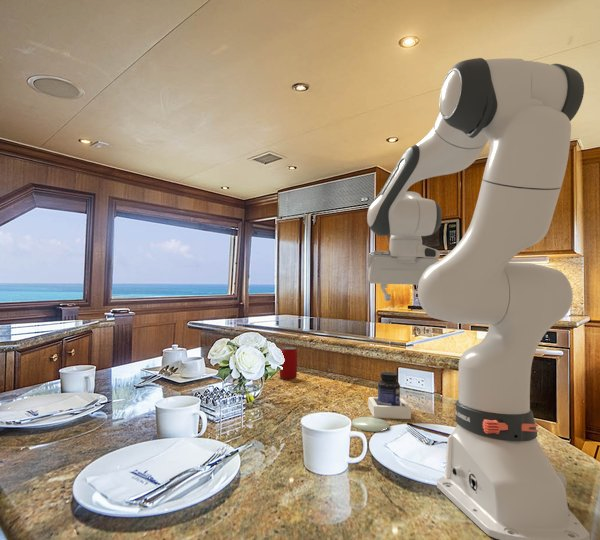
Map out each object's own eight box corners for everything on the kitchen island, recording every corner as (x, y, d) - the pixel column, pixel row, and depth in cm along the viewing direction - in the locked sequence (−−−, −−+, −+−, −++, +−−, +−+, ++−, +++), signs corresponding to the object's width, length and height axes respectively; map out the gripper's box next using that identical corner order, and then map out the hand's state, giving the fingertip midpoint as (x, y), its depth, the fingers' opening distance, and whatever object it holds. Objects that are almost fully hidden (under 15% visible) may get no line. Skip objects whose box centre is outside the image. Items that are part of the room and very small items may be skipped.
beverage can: (289, 376, 158) (290, 346, 159) (300, 379, 153) (301, 348, 153) (276, 378, 154) (277, 347, 154) (286, 381, 148) (287, 349, 149)
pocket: (410, 419, 105) (411, 407, 105) (373, 417, 105) (373, 406, 106) (402, 408, 115) (402, 398, 115) (368, 407, 115) (368, 396, 116)
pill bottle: (400, 417, 107) (400, 376, 107) (377, 415, 108) (378, 374, 109) (399, 410, 113) (399, 372, 113) (377, 409, 114) (378, 370, 115)
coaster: (391, 432, 94) (391, 429, 94) (354, 431, 94) (354, 427, 94) (384, 420, 103) (384, 417, 103) (350, 419, 103) (350, 416, 103)
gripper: (369, 249, 106) (368, 300, 105) (445, 251, 105) (444, 302, 105) (366, 251, 112) (365, 299, 112) (438, 253, 111) (437, 301, 111)
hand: (404, 301), depth 108 cm, fingers open, 8 cm apart
